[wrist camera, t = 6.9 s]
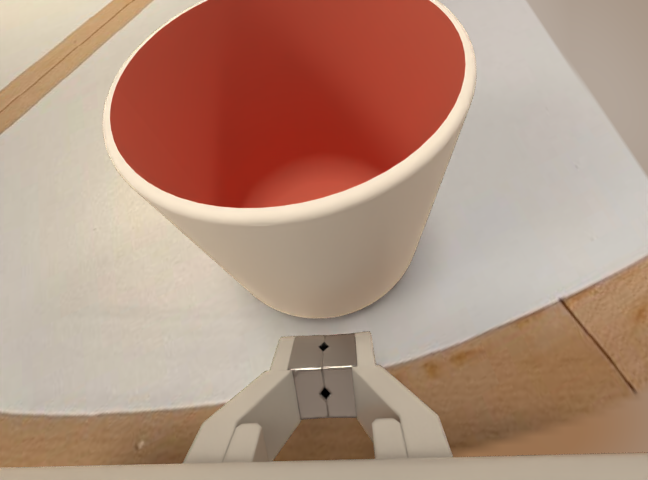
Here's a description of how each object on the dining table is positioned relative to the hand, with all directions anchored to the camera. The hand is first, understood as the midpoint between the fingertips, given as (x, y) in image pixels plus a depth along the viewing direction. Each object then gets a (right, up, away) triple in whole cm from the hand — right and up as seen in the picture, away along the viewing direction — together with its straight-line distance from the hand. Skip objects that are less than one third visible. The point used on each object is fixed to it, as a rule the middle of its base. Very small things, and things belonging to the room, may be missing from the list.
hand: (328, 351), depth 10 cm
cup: (0, +4, +7) cm, 8 cm away
